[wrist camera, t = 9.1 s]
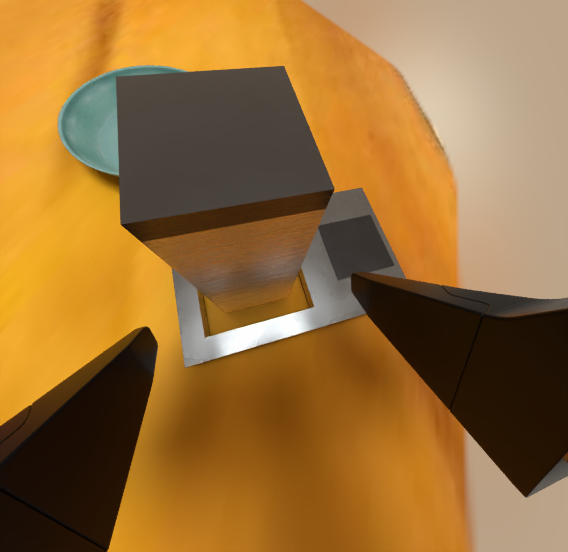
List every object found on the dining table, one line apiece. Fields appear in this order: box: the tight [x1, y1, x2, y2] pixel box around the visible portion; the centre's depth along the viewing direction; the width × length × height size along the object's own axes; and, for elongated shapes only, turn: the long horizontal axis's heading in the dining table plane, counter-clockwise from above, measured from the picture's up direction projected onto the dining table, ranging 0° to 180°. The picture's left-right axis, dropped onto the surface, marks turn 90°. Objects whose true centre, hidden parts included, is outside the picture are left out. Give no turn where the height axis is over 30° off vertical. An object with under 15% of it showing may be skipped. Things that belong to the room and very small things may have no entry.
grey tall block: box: [116, 66, 334, 313], centre depth 12 cm, size 5×5×12 cm
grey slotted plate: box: [172, 188, 406, 367], centre depth 17 cm, size 11×18×2 cm, turn 106°
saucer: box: [58, 65, 188, 177], centre depth 20 cm, size 15×15×3 cm
